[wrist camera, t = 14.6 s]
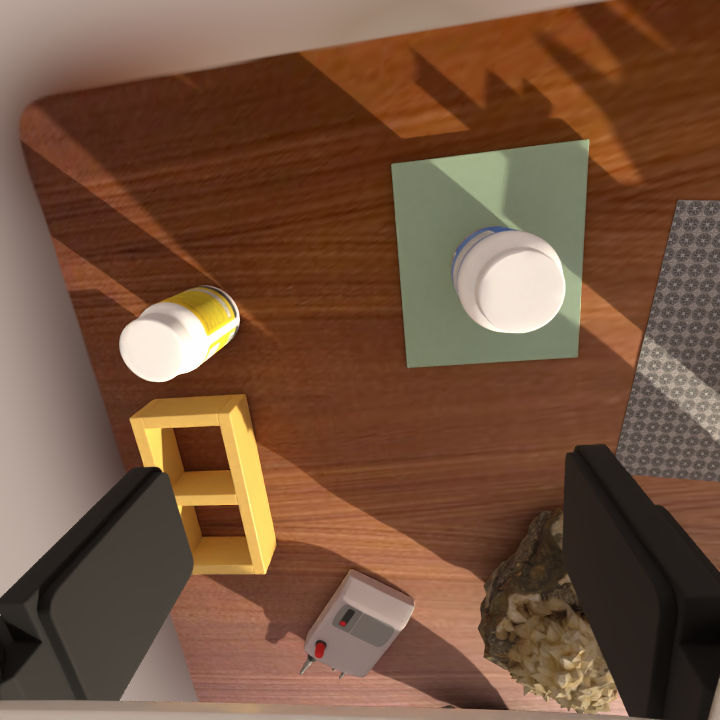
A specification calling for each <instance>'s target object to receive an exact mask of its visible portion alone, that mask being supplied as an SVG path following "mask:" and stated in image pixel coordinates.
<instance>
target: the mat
mask: <svg viewBox="0 0 720 720" xmlns="http://www.w3.org/2000/svg"><path fill="white" fill-rule="evenodd" d="M588 153H589V139H586V140H578V141H570V142H562V143H554V144H546V145H538V146H530V147H522V148H514V149H506V150H498V151H490V152H482V153H474V154H466V155H459V156H451V157H443V158H435V159H427V160H419V161H411V162H403V163H395V164H391V168H392V181H393V193H394V206H395V219H396V232H397V244H398V257H399V270H400V283H401V295H402V308H403V321H404V334H405V346H406V359H407V368H414V367H430V366H446V365H462V364H478V363H494V362H510V361H526V360H542V359H558V358H574V357H578V344H579V325H580V306H581V287H582V268H583V249H584V230H585V211H586V192H587V173H588ZM491 226H501V227H507V228H511V229H515V230H519V231H523V232H527V233H530V234H533V235H536V236H538V237H540V238H541V239H543V240H544V241H546V242H547V243H548V244H549V245H550V246H551V247H552V248H553V249H554V250H555V252H556V254H557V255H558V257H559V259H560V262H561V266H562V270H563V276H564V279H565V296H564V300H563V303H562V305H561V307H560V309H559V311H558V312H557V314H556V315H555V316H554V317H553V318H552V319H551V320H550V321H549V322H548V323H547V324H545V325H544V326H542V327H540V328H538V329H536V330H533V331H530V332H526V333H504V332H496V331H492V330H489V329H487V328H484V327H483V326H481V325H479V324H478V323H476V322H475V321H474V320H473V319H472V318H471V317H470V316H469V315H468V314H467V312H466V311H465V309H464V308H463V306H462V304H461V301H460V299H459V297H458V295H457V292H456V290H455V288H454V286H453V283H452V279H451V274H450V268H451V261H452V257H453V254H454V252H455V250H456V249H457V247H458V245H459V244H460V243H461V242H462V241H463V240H464V239H465V238H466V237H467V236H468V235H470V234H471V233H473V232H475V231H477V230H479V229H482V228H485V227H491Z"/></svg>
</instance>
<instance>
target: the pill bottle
mask: <svg viewBox="0 0 720 720" xmlns="http://www.w3.org/2000/svg"><path fill="white" fill-rule="evenodd" d="M450 274H451V279H452V283H453V286H454V288H455V290H456V292H457V295H458V297H459V299H460V301H461V304H462V306H463V308H464V309H465V311H466V312H467V314H468V315H469V316H470V317H471V318H472V319H473V320H474V321H475V322H476V323H478V324H479V325H481V326H483V327H484V328H487V329H489V330H492V331H496V332H504V333H526V332H530V331H533V330H536V329H538V328H540V327H542V326H544V325H545V324H547V323H548V322H549V321H550V320H551V319H552V318H553V317H554V316H555V315H556V314H557V312H558V311H559V309H560V307H561V305H562V303H563V300H564V296H565V279H564V276H563V270H562V266H561V262H560V259H559V257H558V255H557V254H556V252H555V250H554V249H553V248H552V247H551V246H550V245H549V244H548V243H547V242H546V241H544V240H543V239H541V238H540V237H538V236H536V235H533V234H530V233H527V232H523V231H519V230H515V229H511V228H507V227H501V226H491V227H485V228H482V229H479V230H477V231H475V232H473V233H471V234H470V235H468V236H467V237H466V238H465V239H464V240H463V241H462V242H461V243H460V244H459V245H458V247H457V249H456V250H455V252H454V254H453V257H452V261H451V268H450Z"/></svg>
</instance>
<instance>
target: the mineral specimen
mask: <svg viewBox="0 0 720 720" xmlns="http://www.w3.org/2000/svg"><path fill="white" fill-rule="evenodd" d="M562 538H563V511H562V510H561V509H560V508H555V510H554V511H546V510H545V511H543V512H541V513H540V514H539V516H538V517H535V518H534V519H533V521H532V523H530V525H529V529H528V533H527V536H526V537H525V538H524V539H523V540H522V541H521V543H520V545H519V547H518V549H517V551H516V553H514V554H512V555H511V556H510V557H509V558H508V560H505V561H503V562H501V564H500V565H499V567H498V568H496V569H494V571H493V573H492V574H491V576H490V577H489V578H488V579H487V581H486V583H485V585H484V588H485V591H486V597H485V598H484V600H483V602H482V603H481V609H480V610H481V618H482V619H481V623H480V625H479V627H478V630H479V632H480V634H481V637H482V639H483V641H484V643H485V651H484V658H486V659H488V660H490V661H491V662H493V663H495V664H496V665H498V666H500V667H502V668H503V669H505V670H508V672H511V674H510V675H511V676H512V678H511V679H518V680H517V681H516V682H517V683H520V684H522V685H524V695H526V694H528V693H530V692H532V693H535V696H539V695H542V696H543V698H544V699H545V701H546V702H547V703H548V700H549V697H551V698H553V699H555V700H556V701H557V702H558V703H559V704H561V708H564V707H567V709H568V711H569V710H570V708H573V709H575V710H576V712H577V713H579V714H583V712H585V713H588V714H597V712H598V711H601V712H607V711H610V706H609V702H610V701H612V700H614V699H616V698H617V687H616V685H615V683H614V680H613V678H612V676H611V674H610V671H609V669H608V667H607V664H606V662H605V660H604V657H603V655H602V653H601V650H600V648H599V646H598V643H597V641H596V639H595V636H594V634H593V632H592V629H591V627H590V625H589V622H588V620H587V618H586V615H585V613H584V611H583V608H582V606H581V604H580V601H579V599H578V597H577V595H576V592H575V590H574V588H573V585H572V583H571V581H570V578H569V576H568V574H567V571H566V569H565V566H564V562H563V556H562Z"/></svg>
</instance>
